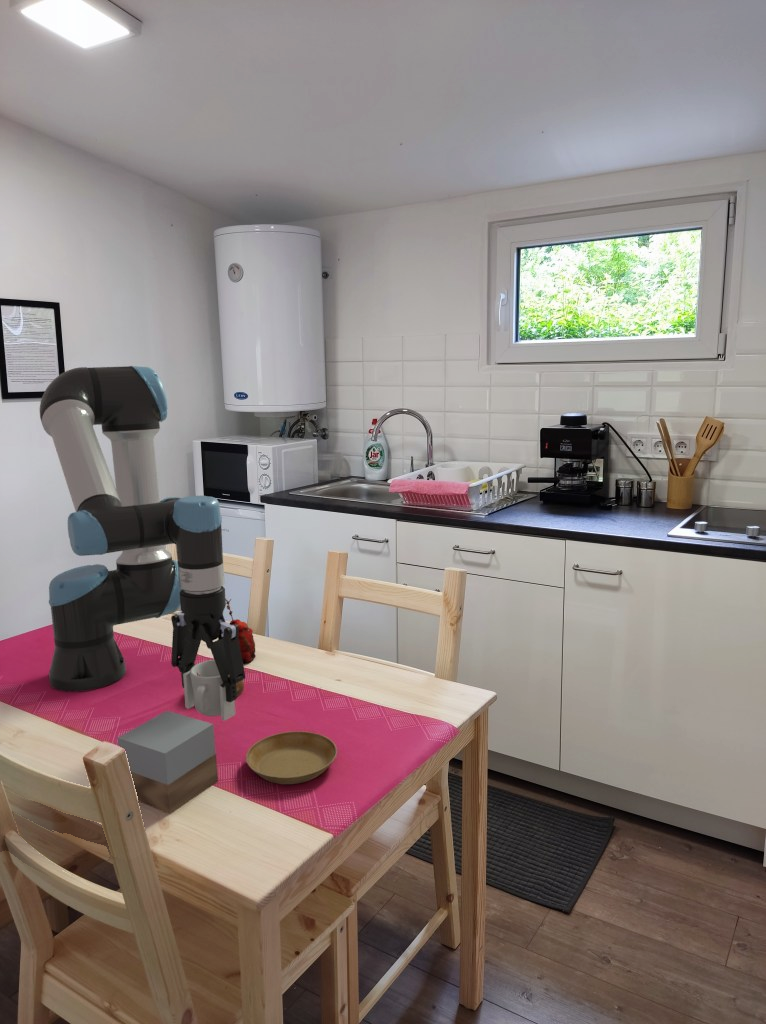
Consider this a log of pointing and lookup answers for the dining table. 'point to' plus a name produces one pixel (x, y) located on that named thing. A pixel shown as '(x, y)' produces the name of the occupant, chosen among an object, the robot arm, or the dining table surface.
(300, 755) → the plant saucer
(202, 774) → the walnut block
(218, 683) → the cup
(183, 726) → the grey block
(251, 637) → the red textured ornament
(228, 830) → the dining table surface
